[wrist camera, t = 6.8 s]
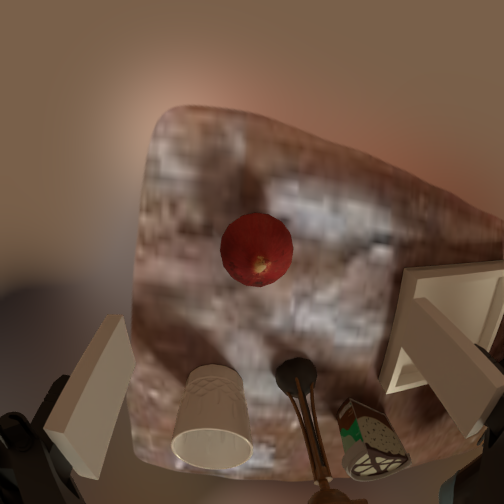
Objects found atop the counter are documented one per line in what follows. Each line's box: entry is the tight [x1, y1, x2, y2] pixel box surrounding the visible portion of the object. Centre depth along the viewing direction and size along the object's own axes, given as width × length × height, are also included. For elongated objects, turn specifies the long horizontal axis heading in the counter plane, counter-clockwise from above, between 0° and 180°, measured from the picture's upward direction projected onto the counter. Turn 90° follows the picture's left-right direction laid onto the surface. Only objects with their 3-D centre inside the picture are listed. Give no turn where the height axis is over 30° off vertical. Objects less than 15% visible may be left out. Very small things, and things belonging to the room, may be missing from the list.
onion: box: [220, 213, 293, 287], centre depth 24 cm, size 6×6×8 cm
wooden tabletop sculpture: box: [276, 357, 368, 504], centre depth 25 cm, size 6×5×20 cm
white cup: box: [171, 364, 253, 469], centre depth 29 cm, size 8×8×10 cm
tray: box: [378, 260, 504, 394], centre depth 32 cm, size 18×16×3 cm
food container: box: [337, 398, 412, 481], centre depth 33 cm, size 12×6×10 cm, turn 52°
